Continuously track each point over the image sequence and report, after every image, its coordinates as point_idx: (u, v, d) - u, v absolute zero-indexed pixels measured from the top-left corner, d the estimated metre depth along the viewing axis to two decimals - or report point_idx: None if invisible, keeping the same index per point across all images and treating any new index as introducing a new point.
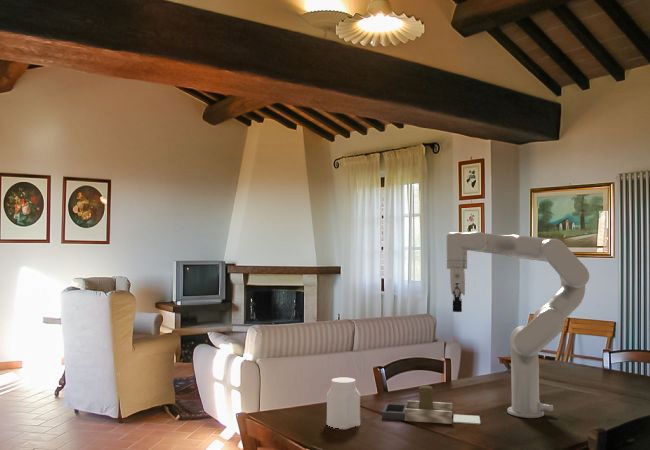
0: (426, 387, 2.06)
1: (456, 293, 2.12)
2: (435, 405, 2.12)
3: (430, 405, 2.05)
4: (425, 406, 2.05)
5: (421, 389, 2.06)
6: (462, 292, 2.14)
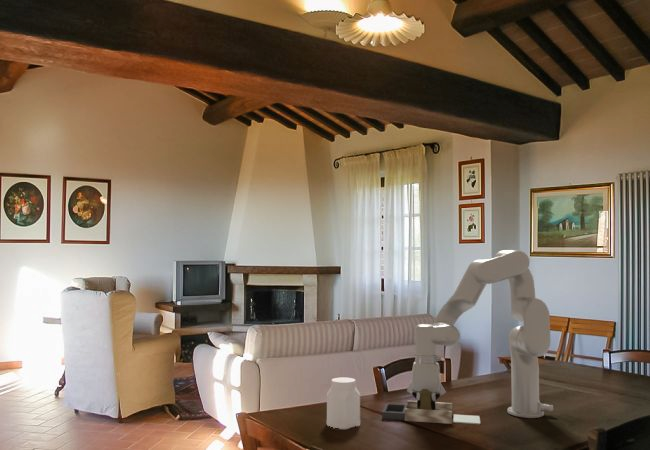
0: None
1: None
2: (435, 405, 2.12)
3: (430, 405, 2.06)
4: (425, 406, 2.05)
5: None
6: None
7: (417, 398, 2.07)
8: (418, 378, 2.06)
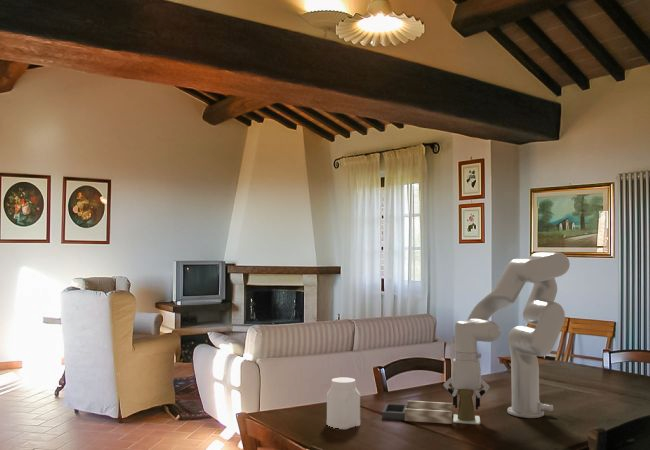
0: None
1: None
2: (435, 405, 2.12)
3: (471, 406, 2.02)
4: (466, 407, 2.02)
5: (461, 390, 2.03)
6: None
7: (453, 394, 2.04)
8: (458, 375, 2.03)
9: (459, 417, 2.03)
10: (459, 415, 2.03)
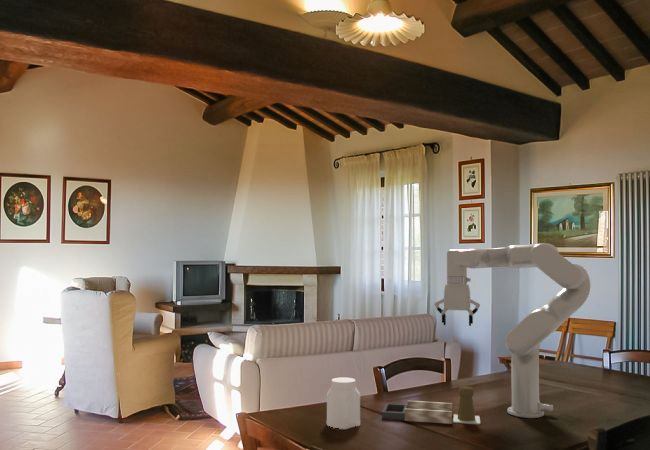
0: (467, 388, 2.03)
1: (478, 307, 2.25)
2: (435, 405, 2.12)
3: (471, 406, 2.02)
4: (466, 407, 2.02)
5: (462, 390, 2.03)
6: None
7: (441, 312, 2.27)
8: (450, 297, 2.25)
9: (459, 417, 2.03)
10: (459, 415, 2.03)
